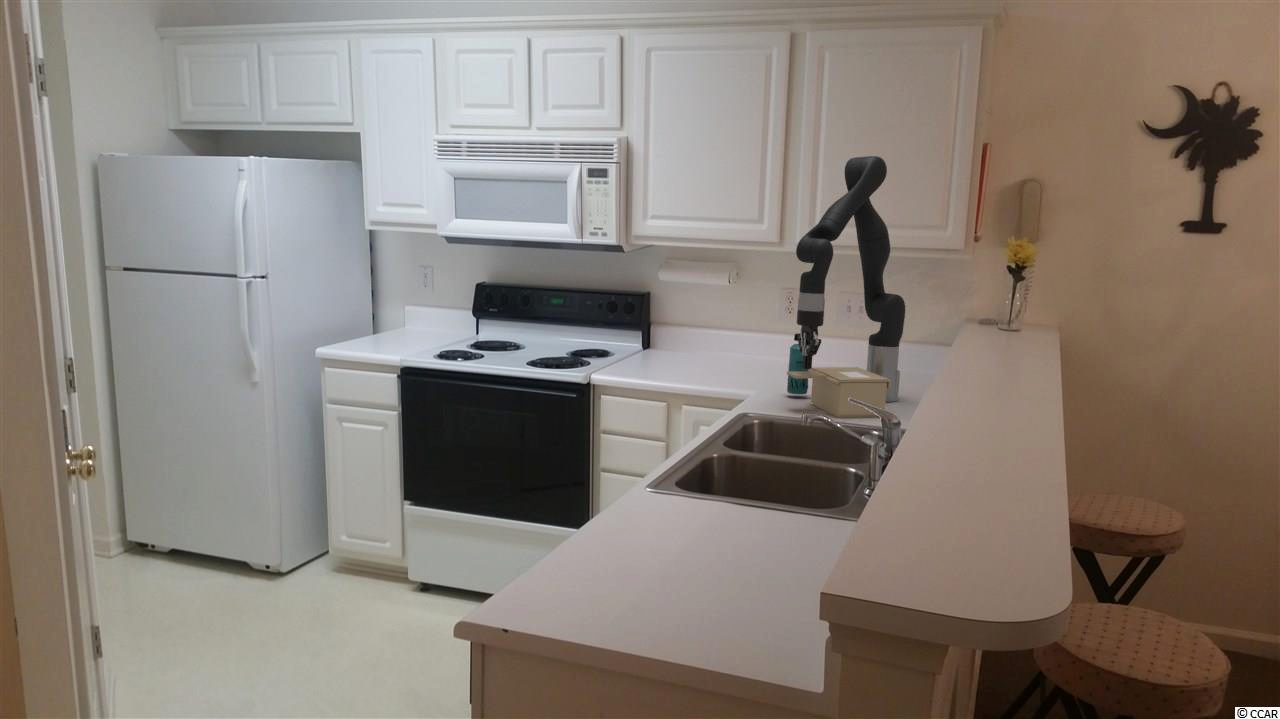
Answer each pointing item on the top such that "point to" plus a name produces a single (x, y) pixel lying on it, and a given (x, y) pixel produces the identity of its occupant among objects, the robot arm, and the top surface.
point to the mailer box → (837, 397)
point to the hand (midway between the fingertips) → (806, 368)
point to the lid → (841, 375)
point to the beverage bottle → (796, 365)
